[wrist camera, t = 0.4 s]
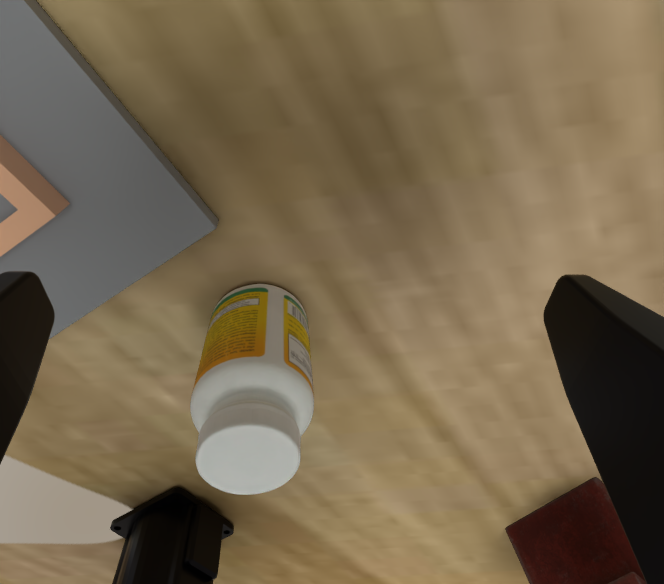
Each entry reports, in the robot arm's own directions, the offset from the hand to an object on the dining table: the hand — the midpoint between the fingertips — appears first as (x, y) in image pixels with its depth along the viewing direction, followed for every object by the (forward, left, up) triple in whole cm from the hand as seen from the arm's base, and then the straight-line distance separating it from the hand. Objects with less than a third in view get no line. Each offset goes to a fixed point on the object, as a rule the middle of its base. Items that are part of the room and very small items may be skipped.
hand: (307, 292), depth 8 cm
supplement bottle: (-7, -8, -15) cm, 18 cm away
